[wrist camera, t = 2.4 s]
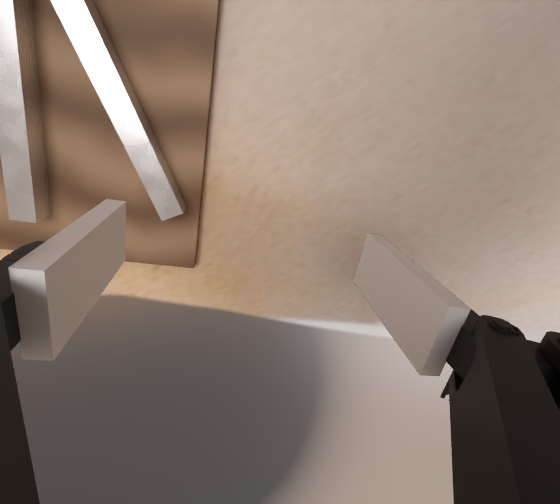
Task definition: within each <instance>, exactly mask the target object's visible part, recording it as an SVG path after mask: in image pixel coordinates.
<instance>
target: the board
mask: <svg viewBox="0 0 560 504" xmlns="http://www.w3.org/2000/svg"><path fill="white" fill-rule="evenodd" d="M93 2H94V4H95V6H96V9H97V11H98V13H99V15H100V17H101V20H102V22H103V24H104V26H105V28H106V30H107V33H108V35H109V37H110V39H111V41H112V44H113V46H114V48H115V50H116V52H117V54H118V57H119V59H120V61H121V63H122V65H123V68H124V70H125V72H126V74H127V76H128V79H129V81H130V83H131V85H132V87H133V89H134V92H135V94H136V96H137V98H138V100H139V103H140V105H141V107H142V109H143V111H144V114H145V116H146V118H147V120H148V122H149V124H150V127H151V129H152V131H153V133H154V135H155V138H156V140H157V142H158V144H159V146H160V148H161V151H162V153H163V155H164V157H165V159H166V162H167V164H168V166H169V168H170V170H171V173H172V175H173V177H174V179H175V181H176V183H177V186H178V188H179V190H180V192H181V194H182V197H183V199H184V201H185V203H186V205H187V207H186V209H185V211H184V213H183V214H180V215H178V216H175V217H172V218H169V219H166V220H163V221H161V219H160V217H159V215H158V213H157V211H156V209H155V207H154V205H153V203H152V201H151V199H150V197H149V195H148V193H147V191H146V189H145V187H144V185H143V183H142V181H141V179H140V177H139V175H138V173H137V171H136V169H135V167H134V165H133V163H132V161H131V159H130V157H129V155H128V153H127V151H126V149H125V147H124V145H123V143H122V141H121V139H120V137H119V135H118V133H117V131H116V129H115V127H114V125H113V123H112V121H111V119H110V117H109V115H108V113H107V111H106V109H105V107H104V105H103V103H102V101H101V99H100V97H99V95H98V94H97V92H96V90H95V88H94V86H93V84H92V82H91V80H90V78H89V76H88V74H87V72H86V70H85V68H84V66H83V64H82V62H81V60H80V58H79V56H78V54H77V52H76V50H75V48H74V46H73V44H72V42H71V40H70V38H69V36H68V34H67V32H66V30H65V28H64V26H63V24H62V22H61V20H60V18H59V16H58V14H57V12H56V10H55V8H54V6H53V4H52V2H51V0H33V8H34V19H35V31H36V42H37V54H38V65H39V77H40V88H41V100H42V112H43V123H44V135H45V146H46V158H47V169H48V181H49V192H50V204H51V215H49V216H48V217H46V218H44V219H42V220H41V221H39V222H37V223H32V222H24V221H15V220H9V214H8V206H7V199H6V192H5V185H4V178H3V170H2V163H1V156H0V249H8V250H16V249H18V248H19V247H21V246H23V245H26V244H29V243H32V242H35V241H47V240H48V239H50V238H51V237H53V236H54V235H56V234H57V233H58V232H60V231H61V230H63V229H64V228H66V227H67V226H68V225H70V224H71V223H73V222H74V221H76V220H77V219H78V218H80V217H81V216H83V215H84V214H86V213H87V212H88V211H90V210H91V209H93V208H94V207H96V206H97V205H99V204H100V203H101V202H103V201H104V200H106V199H111V200H119V201H126V260H125V261H128V262H138V263H148V264H158V265H168V266H178V267H188V268H194V266H195V260H196V249H197V238H198V227H199V216H200V205H201V195H202V184H203V173H204V162H205V151H206V140H207V129H208V118H209V107H210V96H211V86H212V75H213V64H214V53H215V42H216V31H217V20H218V9H219V0H93Z"/></svg>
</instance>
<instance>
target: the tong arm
mask: <svg viewBox="0 0 560 504" xmlns="http://www.w3.org/2000/svg"><path fill="white" fill-rule="evenodd" d="M51 2H52V4H53V6H54V8H55V10H56V12H57V14H58V16H59V18H60V20H61V22H62V24H63V26H64V28H65V30H66V32H67V34H68V36H69V38H70V40H71V42H72V44H73V46H74V48H75V50H76V52H77V54H78V56H79V58H80V60H81V62H82V64H83V66H84V68H85V70H86V72H87V74H88V76H89V78H90V80H91V82H92V84H93V86H94V88H95V90H96V92H97V94H98V95H99V97H100V99H101V101H102V103H103V105H104V107H105V109H106V111H107V113H108V115H109V117H110V119H111V121H112V123H113V125H114V127H115V129H116V131H117V133H118V135H119V137H120V139H121V141H122V143H123V145H124V147H125V149H126V151H127V153H128V155H129V157H130V159H131V161H132V163H133V165H134V167H135V169H136V171H137V173H138V175H139V177H140V179H141V181H142V183H143V185H144V187H145V189H146V191H147V193H148V195H149V197H150V199H151V201H152V203H153V205H154V207H155V209H156V211H157V213H158V215H159V217H160V219H161V221H163V220H166V219H169V218H172V217H175V216H178V215H180V214H183V213H184V211H185V209H186V207H187V205H186V203H185V201H184V199H183V197H182V194H181V192H180V190H179V188H178V186H177V183H176V181H175V179H174V177H173V175H172V173H171V170H170V168H169V166H168V164H167V162H166V159H165V157H164V155H163V153H162V151H161V148H160V146H159V144H158V142H157V140H156V138H155V135H154V133H153V131H152V129H151V127H150V124H149V122H148V120H147V118H146V116H145V114H144V111H143V109H142V107H141V105H140V103H139V100H138V98H137V96H136V94H135V92H134V89H133V87H132V85H131V83H130V81H129V79H128V76H127V74H126V72H125V70H124V68H123V65H122V63H121V61H120V59H119V57H118V54H117V52H116V50H115V48H114V46H113V44H112V41H111V39H110V37H109V35H108V33H107V30H106V28H105V26H104V24H103V22H102V20H101V17H100V15H99V13H98V11H97V9H96V6H95V4H94V2H93V0H51Z"/></svg>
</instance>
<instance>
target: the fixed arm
mask: <svg viewBox="0 0 560 504" xmlns="http://www.w3.org/2000/svg"><path fill="white" fill-rule="evenodd" d="M0 156H1V163H2V170H3V178H4V185H5V192H6V199H7V206H8V214H9V220H15V221H24V222H32V223H37V222H39V221H41V220H42V219H44V218H46V217H48V216H49V215H51V204H50V192H49V181H48V169H47V158H46V146H45V135H44V123H43V112H42V100H41V88H40V77H39V65H38V54H37V42H36V31H35V19H34V8H33V0H0Z"/></svg>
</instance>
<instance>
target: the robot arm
mask: <svg viewBox="0 0 560 504" xmlns="http://www.w3.org/2000/svg"><path fill="white" fill-rule="evenodd" d="M125 260H126V201H119V200H111V199H106V200H104V201H103V202H101V203H100V204H99V205H97V206H96V207H94V208H93V209H91V210H90V211H88V212H87V213H86V214H84V215H83V216H81V217H80V218H78V219H77V220H76V221H74V222H73V223H71V224H70V225H68V226H67V227H66V228H64V229H63V230H61V231H60V232H58V233H57V234H56V235H54V236H53V237H51V238H50V239H48V240H47V241H35V242H32V243H29V244H26V245H23V246H21V247H19V248H18V249H16V250H15V251H13V252H11V254H8V255H7V256H5V257H4V258H2V260H0V504H40V503H39V498H38V492H37V487H36V482H35V477H34V472H33V467H32V461H31V456H30V451H29V446H28V441H27V435H26V431H25V425H24V420H23V415H22V409H21V405H20V399H19V394H18V389H17V384H16V378H15V373H14V368H13V363H12V358H11V352H10V351H11V350H12V349H13V348H14V347H15V346H16V345H17V344H18V343H19V342H20V349H21V356H22V359H29V360H54V359H55V358H56V356H57V355H58V354H59V352H60V351H61V350H62V348H63V347H64V345H65V344H66V342H67V341H68V340H69V338H70V337H71V335H72V334H73V333H74V331H75V330H76V328H77V327H78V326H79V324H80V323H81V322H82V320H83V319H84V317H85V316H86V314H87V313H88V312H89V310H90V309H91V307H92V306H93V304H94V303H95V302H96V300H97V299H98V298H99V296H100V295H101V293H102V292H103V291H104V289H105V288H106V286H107V285H108V284H109V282H110V281H111V279H112V278H113V277H114V275H115V274H116V272H117V271H118V270H119V268H120V267H121V265H122V264H123V263H124V261H125ZM353 282H354V284H355V285H356V287H357V288H358V289H359V291H360V292H361V294H362V295H363V296H364V298H365V299H366V301H367V302H368V303H369V305H370V306H371V308H372V309H373V310H374V312H375V313H376V315H377V316H378V317H379V319H380V320H381V322H382V323H383V324H384V326H385V327H386V329H387V330H388V331H389V333H390V334H391V336H392V337H393V338H394V340H395V341H396V343H397V344H398V345H399V347H400V348H401V350H402V351H403V352H404V354H405V355H406V357H407V358H408V359H409V360H410V362H411V364H412V365H413V366H414V368H415V369H416V371H417V372H418V373H419V375H428V376H429V375H430V376H440V374H441V371H442V369H443V367H444V365H445V363H446V361H447V363H448V364H449V365H450V366H451V367H452V368H453V372H452V374H451V376H450V378H449V380H448V382H447V384H446V386H445V388H444V390H443V392H442V394H441V397H442V398H444V397H445V396H446V395H448V394H449V398H450V399H449V401H450V420H451V421H450V422H451V444H452V445H451V446H452V467H453V469H452V470H453V491H454V492H453V493H454V504H560V333H558V332H552V331H550V332H546V334H545V336H544V337H543V339H542V341H541V343H538V342H534V341H529V340H526V338H525V336H524V334H523V333H522V332H521V331H520V330H519V329H518V328H517V327H515V326H514V325H512V324H510V323H509V322H507V321H505V320H503V319H500V318H496V317H492V316H487V315H482V316H479V315H478V314H477V313H475V312H474V311H473V310H472V309H471V308H470V307H468V306H467V305H466V304H465V303H464V302H462V301H461V300H460V299H459V298H457V297H456V296H455V295H454V294H453V293H451V292H450V291H449V290H448V289H447V288H445V287H444V286H443V285H442V284H440V283H439V282H438V281H437V280H436V279H434V278H433V277H432V276H431V275H429V274H428V273H427V272H426V271H425V270H423V269H422V268H421V267H420V266H419V265H417V264H416V263H415V262H414V261H412V260H411V259H410V258H409V257H408V256H406V255H405V254H404V253H403V252H402V251H400V250H399V249H398V248H397V247H395V246H394V245H393V244H392V243H391V242H389V241H388V240H387V239H386V238H384V237H383V236H382V235H376V234H369V233H368V234H367V237H366V241H365V244H364V247H363V251H362V254H361V257H360V261H359V264H358V267H357V271H356V274H355V277H354V281H353Z"/></svg>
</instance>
